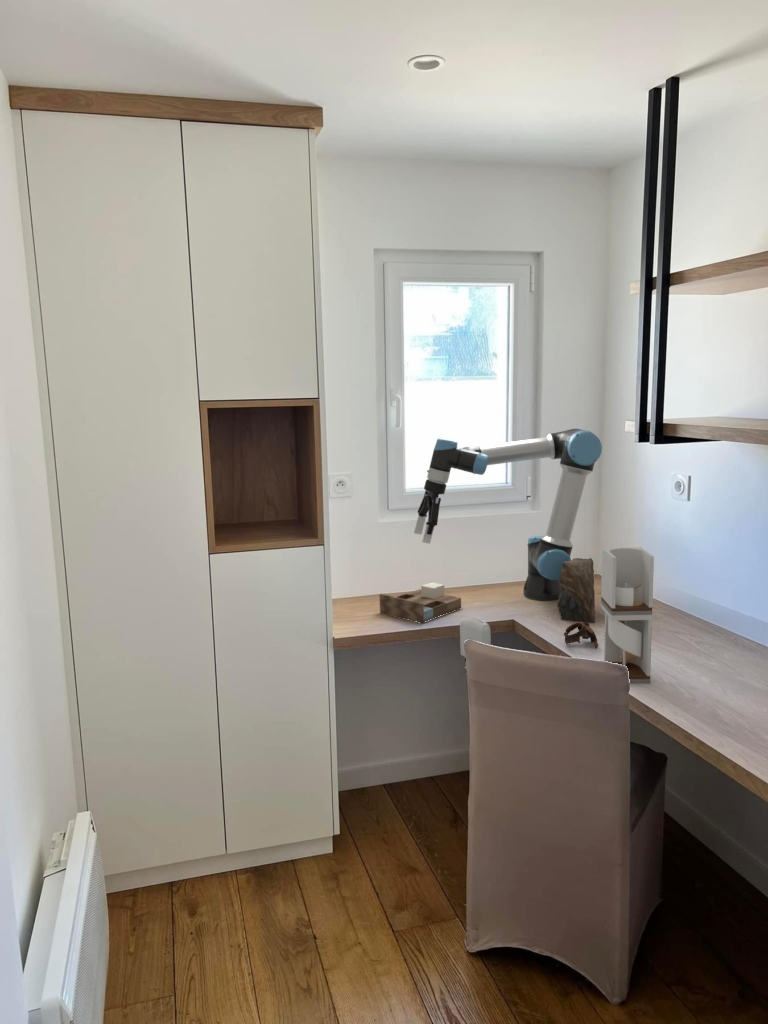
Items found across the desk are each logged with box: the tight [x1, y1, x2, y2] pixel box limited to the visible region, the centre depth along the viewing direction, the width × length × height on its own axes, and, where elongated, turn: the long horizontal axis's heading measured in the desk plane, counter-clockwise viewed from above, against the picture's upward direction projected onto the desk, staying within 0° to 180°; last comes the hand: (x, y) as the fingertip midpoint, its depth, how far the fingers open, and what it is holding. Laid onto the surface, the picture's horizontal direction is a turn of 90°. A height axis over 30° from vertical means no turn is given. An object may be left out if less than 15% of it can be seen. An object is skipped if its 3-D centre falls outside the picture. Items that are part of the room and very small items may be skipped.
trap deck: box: [378, 588, 462, 624], centre depth 275 cm, size 20×22×7 cm
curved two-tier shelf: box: [600, 546, 655, 684], centre depth 207 cm, size 11×11×35 cm
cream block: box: [420, 582, 445, 599], centre depth 279 cm, size 6×6×4 cm
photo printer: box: [459, 616, 492, 658], centre depth 226 cm, size 10×4×12 cm, turn 39°
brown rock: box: [557, 557, 596, 624], centre depth 261 cm, size 13×13×20 cm
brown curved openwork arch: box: [563, 621, 599, 649], centre depth 235 cm, size 12×10×8 cm
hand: (421, 538), depth 273 cm, fingers open, 13 cm apart
